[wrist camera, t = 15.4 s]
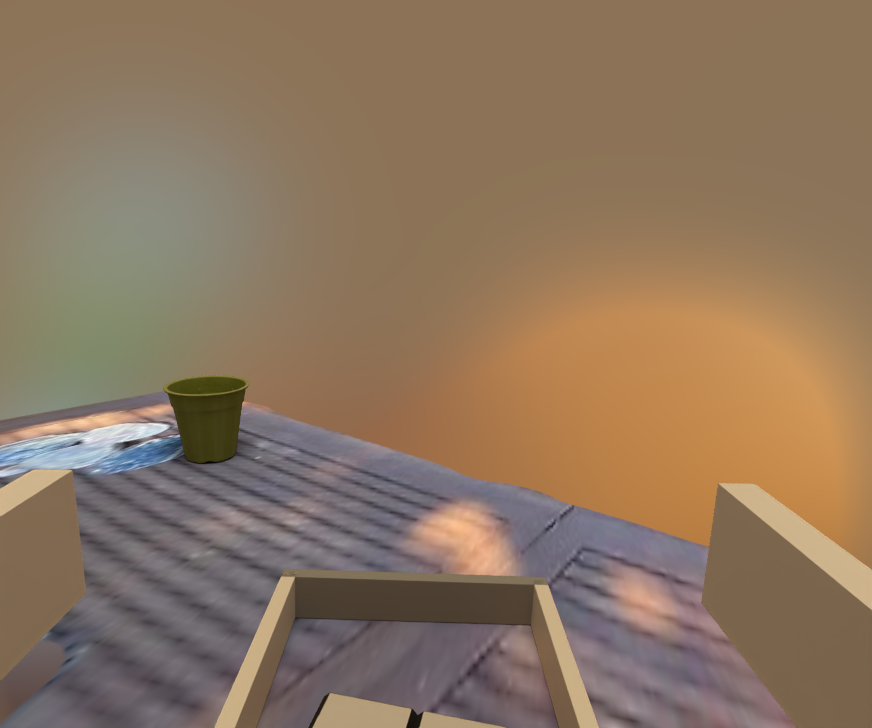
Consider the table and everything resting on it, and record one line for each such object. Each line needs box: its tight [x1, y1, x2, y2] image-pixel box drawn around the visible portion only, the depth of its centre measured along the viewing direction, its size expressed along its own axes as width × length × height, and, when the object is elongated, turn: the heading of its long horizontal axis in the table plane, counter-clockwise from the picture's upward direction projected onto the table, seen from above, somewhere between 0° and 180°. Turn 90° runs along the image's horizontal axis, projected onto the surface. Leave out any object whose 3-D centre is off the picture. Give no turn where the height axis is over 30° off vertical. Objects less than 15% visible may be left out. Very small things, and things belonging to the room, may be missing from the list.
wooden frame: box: [214, 569, 599, 728], centre depth 43 cm, size 18×23×4 cm
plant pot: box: [164, 376, 249, 463], centre depth 86 cm, size 12×12×11 cm
